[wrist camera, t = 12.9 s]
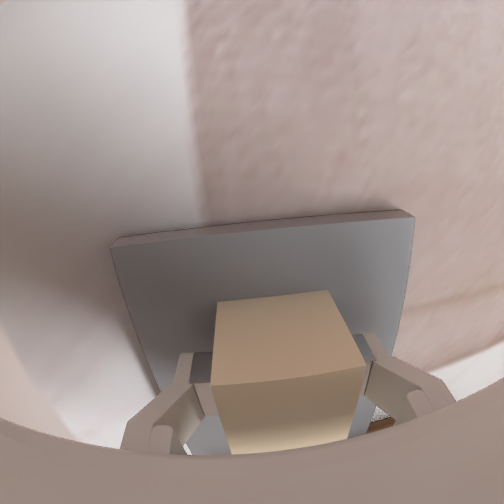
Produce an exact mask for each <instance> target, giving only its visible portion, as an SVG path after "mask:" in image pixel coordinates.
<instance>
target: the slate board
mask: <svg viewBox="0 0 504 504" xmlns="http://www.w3.org/2000/svg"><path fill="white" fill-rule="evenodd" d="M414 226H415V217H414V216H412V215H411V214H409V213H407V212H405V211H403V210H393V211H378V212H363V213H349V214H336V215H324V216H312V217H300V218H289V219H278V220H267V221H257V222H247V223H237V224H228V225H219V226H210V227H201V228H192V229H183V230H175V231H167V232H159V233H151V234H143V235H135V236H128V237H120V238H118V239H117V240H116V241H115V242H114V243H113V244H112V245H111V246H110V247H109V248H110V251H111V255H112V259H113V263H114V266H115V270H116V273H117V276H118V280H119V283H120V286H121V290H122V293H123V296H124V299H125V302H126V305H127V308H128V311H129V314H130V317H131V320H132V323H133V325H134V328H135V331H136V334H137V336H138V339H139V342H140V344H141V347H142V349H143V352H144V354H145V357H146V359H147V362H148V364H149V367H150V369H151V371H152V374H153V376H154V378H155V381H156V383H157V385H158V387H159V390H160V392H162V391H163V390H164V389H165V388H166V387H167V386H169V385H173V383H174V379H175V374H176V369H177V364H178V360H179V356H180V354H181V353H195V352H213V346H214V334H215V323H216V313H217V302H222V301H233V300H244V299H253V298H263V297H272V296H281V295H290V294H298V293H306V292H314V291H322V290H328V291H329V293H330V295H331V297H332V299H333V301H334V302H335V304H336V306H337V308H338V310H339V312H340V314H341V316H342V318H343V319H344V321H345V323H346V325H347V327H348V329H349V331H350V333H351V335H353V334H358V333H362V332H366V331H371V330H373V331H374V332H375V333H376V335H377V337H378V338H379V340H380V341H381V343H382V345H383V346H384V348H385V349H386V351H387V353H388V354H389V356H390V357H391V356H392V352H393V348H394V344H395V340H396V336H397V332H398V327H399V323H400V318H401V314H402V309H403V304H404V298H405V293H406V287H407V281H408V275H409V269H410V261H411V254H412V246H413V237H414ZM375 408H376V405H375V404H374V403H372V402H371V401H370V400H368V399H367V398H366V397H365V395H364V396H359V399H358V403H357V406H356V410H355V414H354V417H353V421H352V424H351V427H350V431H349V434H348V437H347V439H348V438H352V437H356V436H360V435H364V434H366V432H367V430H368V427H369V424H370V422H371V419H372V416H373V413H374V411H375ZM204 417H205V418H204V419H203V420H202V422H201V423H200V424H199V426H198V427H197V428H196V430H195V431H194V432H193V433H192V435H191V436H190V437H189V439H188V440H187V441H186V444H187V446H188V448H189V449H190V451H191V453H192V455H232V453H231V450H230V447H229V444H228V441H227V438H226V435H225V432H224V429H223V426H222V423H221V420H220V417H219V415H216V416H204Z"/></svg>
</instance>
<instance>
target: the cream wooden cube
mask: <svg viewBox="0 0 504 504" xmlns="http://www.w3.org/2000/svg"><path fill="white" fill-rule="evenodd" d="M366 366H367V364H366V362H365V360H364V358H363V356H362V354H361V352H360V350H359V349H358V347H357V345H356V343H355V341H354V339H353V337H352V335H351V333H350V331H349V329H348V327H347V325H346V323H345V321H344V319H343V318H342V316H341V314H340V312H339V310H338V308H337V306H336V304H335V302H334V301H333V299H332V297H331V295H330V293H329V291H328V290H322V291H314V292H306V293H298V294H290V295H281V296H272V297H263V298H253V299H244V300H233V301H222V302H217V313H216V323H215V334H214V346H213V358H212V370H211V383H210V386H211V390H212V393H213V397H214V400H215V403H216V407H217V410H218V413H219V417H220V420H221V423H222V426H223V429H224V432H225V435H226V438H227V441H228V444H229V447H230V450H231V453H232V455H233V454H250V453H262V452H272V451H281V450H289V449H296V448H302V447H309V446H314V445H320V444H325V443H330V442H335V441H340V440H344V439H347V437H348V434H349V431H350V427H351V424H352V421H353V417H354V414H355V410H356V406H357V403H358V399H359V395H360V391H361V387H362V383H363V379H364V375H365V370H366Z"/></svg>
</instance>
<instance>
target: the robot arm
mask: <svg viewBox="0 0 504 504" xmlns="http://www.w3.org/2000/svg"><path fill="white" fill-rule="evenodd" d="M352 337H353V339H354V341H355V343H356V345H357V347H358V349H359V350H360V352H361V354H362V356H363V358H364V360H365V362H366V364H367V366H366V370H365V375H364V379H363V383H362V387H361V391H360V395H359V396H364V395H365V397H366V398H367V399H368V400H370V401H371V402H372V403H374V404H375V405H376V406H378V407H379V408H380V409H382V410H383V411H384V412H385V413H387V414H388V415H389V416H391V417H392V418H393V419H395V420H396V421H395V423H394V425H393V426H392V427H389V428H385V429H382V430H379V431H375V432H372V433H368V434H364V435H360V436H356V437H352V438H348V439H344V440H340V441H335V442H330V443H325V444H320V445H314V446H309V447H302V448H296V449H289V450H281V451H272V452H262V453H250V454H233V455H187V453H186V452H185V450H184V448H183V445H184V444H185V443H186V441H187V440H188V439H189V437H190V436H191V435H192V433H193V432H194V431H195V430H196V428H197V427H198V426H199V424H200V423H201V422H202V420H203V419H204V418H205V417H204V416H216V415H219V413H218V410H217V407H216V403H215V400H214V397H213V393H212V390H211V386H210V383H211V370H212V358H213V352H195V353H181V354H180V356H179V360H178V364H177V369H176V374H175V379H174V383H173V385H169V386H167V387H166V388H165V389H164V390H163V391H162V392H161V393H160V394H159V395H157V396H156V397H155V398H154V399H153V400H152V401H151V402H150V403H148V404H147V405H146V406H145V407H144V408H143V409H142V410H141V411H139V412H138V413H137V414H136V415H135V416H134V417H133V418H131V419H130V420H129V421H128V422H127V425H126V429H125V432H124V436H123V439H122V443H121V447H120V449H115V448H109V447H103V446H97V445H92V444H87V443H82V442H77V441H73V440H69V439H64V438H61V437H57V436H53V435H50V434H46V433H42V432H39V431H36V430H33V429H29V428H27V427H24V426H21V425H18V424H15V423H12V422H10V421H7V420H5V419H2V418H0V504H504V378H502V379H500V380H498V381H497V382H495V383H493V384H491V385H489V386H488V387H486V388H484V389H482V390H480V391H478V392H476V393H474V394H472V395H470V396H468V397H466V398H464V399H461V400H459V401H457V402H456V400H455V399H454V397H453V396H452V394H451V393H450V391H449V390H448V388H447V387H446V385H445V384H444V382H443V381H442V380H441V379H439V378H437V377H435V376H433V375H431V374H428V373H426V372H424V371H422V370H420V369H418V368H416V367H414V366H412V365H410V364H408V363H406V362H404V361H402V360H400V359H398V358H396V357H394V356H393V357H390V356H389V354H388V353H387V351H386V349H385V348H384V346H383V345H382V343H381V341H380V340H379V338H378V337H377V335H376V333H375V332H374V331H373V330H371V331H366V332H362V333H358V334H353V335H352Z"/></svg>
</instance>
